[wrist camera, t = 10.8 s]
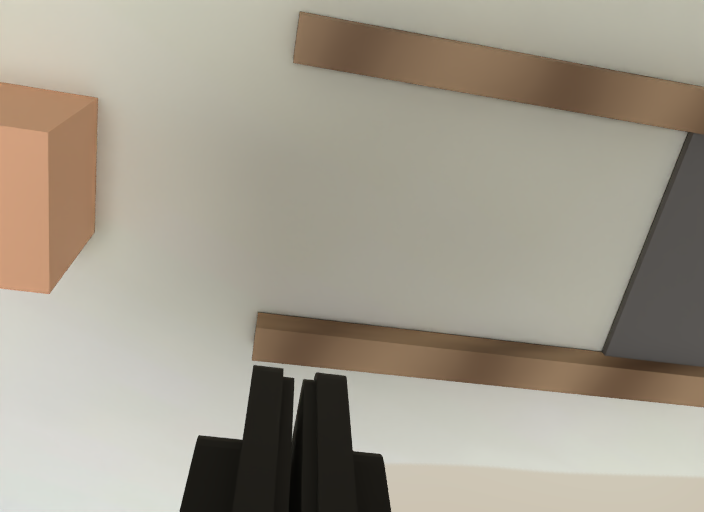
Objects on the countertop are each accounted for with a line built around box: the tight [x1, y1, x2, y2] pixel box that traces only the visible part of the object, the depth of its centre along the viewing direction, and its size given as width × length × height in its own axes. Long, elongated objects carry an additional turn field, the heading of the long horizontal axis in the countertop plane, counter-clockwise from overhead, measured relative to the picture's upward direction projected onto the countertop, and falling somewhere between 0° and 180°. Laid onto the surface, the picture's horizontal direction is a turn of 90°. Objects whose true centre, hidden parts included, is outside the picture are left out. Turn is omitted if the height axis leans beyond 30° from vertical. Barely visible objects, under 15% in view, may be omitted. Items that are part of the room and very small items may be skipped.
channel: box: [252, 12, 704, 407], centre depth 25 cm, size 20×13×1 cm, turn 80°
